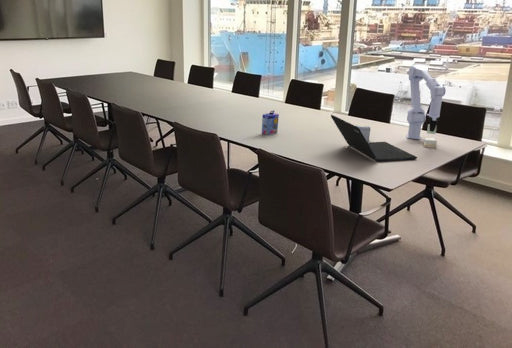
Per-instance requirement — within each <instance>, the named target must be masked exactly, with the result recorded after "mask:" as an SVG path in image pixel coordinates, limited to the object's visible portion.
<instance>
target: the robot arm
mask: <svg viewBox="0 0 512 348" xmlns="http://www.w3.org/2000/svg"><path fill="white" fill-rule="evenodd" d="M422 80H424V81H425V84H426V87H427V88H428V89H429V90H430V91H429V92H430V99H431V100H430V106H429V112H428V113H425V110H424V109H423V108H422V106H421V94H420V93H421V92H420V89H421V88H420V82H421V81H422ZM408 81H409V83H410V85H409V86H410V100H411V108H410V109H409V110H408V111H407V116H406V121H407V123H408V124H409V126H408V132H407V134H406V138H407V139H412V140H421V132H422V125H423V124H424V123H425V122H426V119H427V118H426V116H428V122H429V124H430V131H434V130H435V127H436V126H437V124H438V123H439V122H440V120H439V118H440V116H441V115H440V114H441V109H442V102H443V97H444V96H445V95H446V91H447V90H446V87H445V85H441V84H439V82H438V80H437V79H436V78H434V77H432V76H431V75H430V73H429V68H428V66H427V65H411V66H410V67H409V69H408ZM436 128H437V127H436Z"/></svg>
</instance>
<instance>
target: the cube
mask: <svg viewBox="0 0 512 348" xmlns="http://www.w3.org/2000/svg"><path fill="white" fill-rule="evenodd" d="M437 128H438V127H437V125H436V127H435V130H434V131H430V123H429V124H427V130H426V133H427V134H430V135H431V134H432V135H436V134H437V133H436V132H437Z"/></svg>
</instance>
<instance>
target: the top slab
mask: <svg viewBox="0 0 512 348" xmlns="http://www.w3.org/2000/svg"><path fill="white" fill-rule="evenodd" d="M423 142H424V143H425V144H435V145H436V146H437V142H438V140H436V138H434V137H424V138H423Z"/></svg>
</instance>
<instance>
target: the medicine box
mask: <svg viewBox="0 0 512 348" xmlns="http://www.w3.org/2000/svg"><path fill="white" fill-rule="evenodd" d="M356 126H357V127H358V128H359V129H360V131H361V133H362V134H363V136H364V138H365V139H366V141H367V142H369V141H370V135H371V127H370V126H369V125H356Z"/></svg>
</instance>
